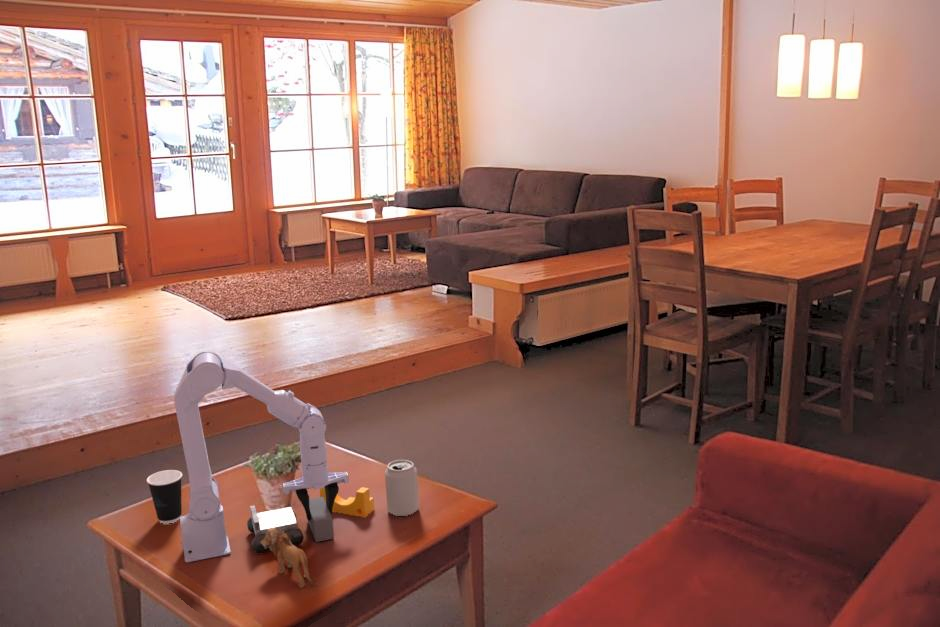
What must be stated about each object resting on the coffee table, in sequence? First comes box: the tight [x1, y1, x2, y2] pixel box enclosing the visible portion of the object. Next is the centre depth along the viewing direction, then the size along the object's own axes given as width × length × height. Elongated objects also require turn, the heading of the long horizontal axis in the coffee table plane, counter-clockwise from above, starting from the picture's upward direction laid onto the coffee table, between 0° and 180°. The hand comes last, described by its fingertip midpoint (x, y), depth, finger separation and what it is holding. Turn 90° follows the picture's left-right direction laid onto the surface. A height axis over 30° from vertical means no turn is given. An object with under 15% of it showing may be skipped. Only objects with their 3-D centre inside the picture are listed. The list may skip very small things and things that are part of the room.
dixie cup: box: [146, 469, 183, 525], centre depth 200 cm, size 8×8×11 cm
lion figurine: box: [261, 527, 318, 589], centre depth 175 cm, size 15×5×9 cm, turn 51°
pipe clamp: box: [319, 486, 375, 518], centre depth 203 cm, size 12×4×6 cm, turn 67°
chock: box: [306, 496, 335, 543], centre depth 193 cm, size 4×11×5 cm, turn 20°
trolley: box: [246, 504, 305, 555], centre depth 190 cm, size 11×11×7 cm
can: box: [384, 459, 420, 517], centre depth 200 cm, size 8×8×12 cm
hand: (319, 516), depth 193 cm, fingers closed on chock, 4 cm apart
